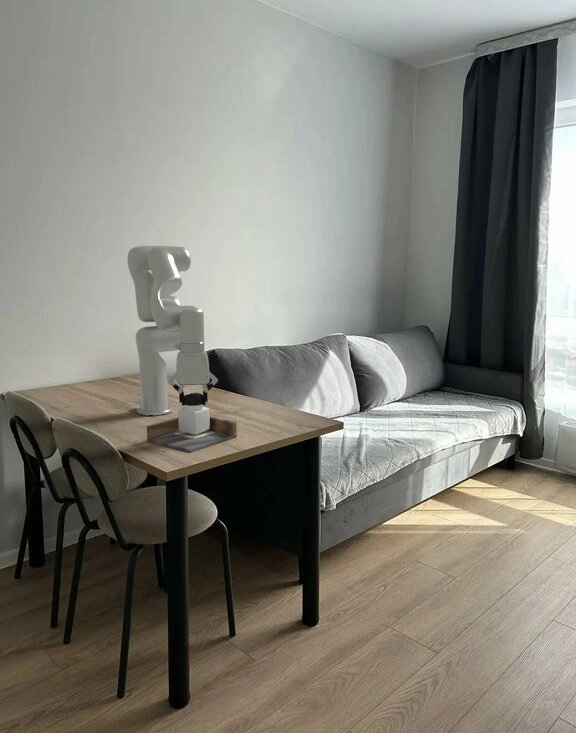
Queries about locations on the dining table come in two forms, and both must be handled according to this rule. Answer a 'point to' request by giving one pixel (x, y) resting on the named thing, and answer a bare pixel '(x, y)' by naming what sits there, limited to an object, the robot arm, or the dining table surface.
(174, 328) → the robot arm
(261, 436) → the dining table surface
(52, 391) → the dining table surface
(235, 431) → the tray
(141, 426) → the dining table surface
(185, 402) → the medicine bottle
